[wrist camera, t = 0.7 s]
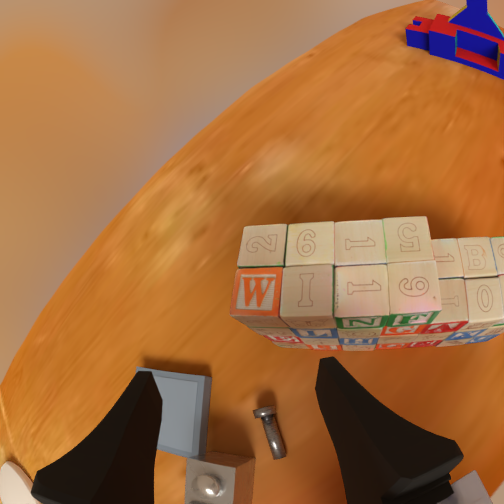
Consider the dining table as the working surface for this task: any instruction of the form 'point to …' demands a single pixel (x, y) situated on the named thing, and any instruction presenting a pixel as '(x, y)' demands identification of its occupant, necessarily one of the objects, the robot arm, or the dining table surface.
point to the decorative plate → (15, 485)
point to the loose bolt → (271, 430)
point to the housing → (219, 479)
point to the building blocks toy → (462, 38)
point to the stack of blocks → (368, 285)
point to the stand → (183, 412)
